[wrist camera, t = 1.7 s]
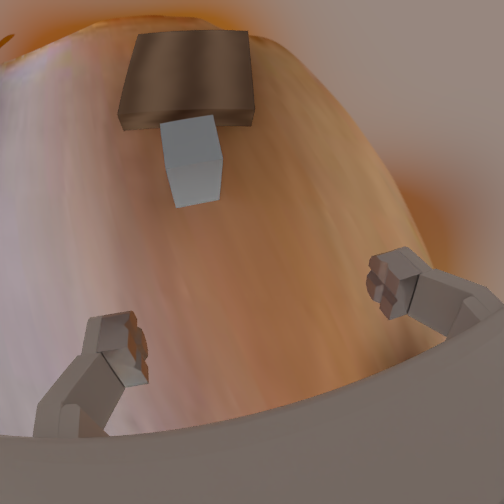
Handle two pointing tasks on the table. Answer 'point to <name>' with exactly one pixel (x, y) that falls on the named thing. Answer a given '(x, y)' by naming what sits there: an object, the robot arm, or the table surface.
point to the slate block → (192, 160)
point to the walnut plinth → (188, 79)
